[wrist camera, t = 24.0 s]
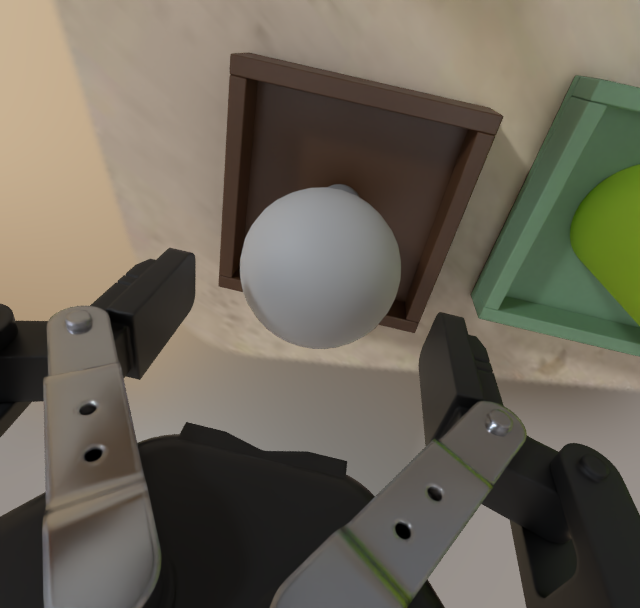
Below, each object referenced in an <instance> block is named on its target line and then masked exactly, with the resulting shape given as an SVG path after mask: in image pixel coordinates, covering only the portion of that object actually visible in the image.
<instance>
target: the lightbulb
mask: <svg viewBox="0 0 640 608" xmlns="http://www.w3.org/2000/svg"><path fill="white" fill-rule="evenodd" d="M240 278H241V284H242V289H243V293H244V296H245V298H246V300H247V303H248V305H249V306H250V308H251V309H252V311H253V312H254V314H255V315H256V317H257V318H258V320H259V321H260V322H261V323H262V324H263V325H264V326H265V327H266V328H267V329H268V330H269V331H271V332H272V333H273V334H275V335H276V336H277V337H279V338H281V339H283V340H285V341H287V342H289V343H292V344H295V345H298V346H301V347H307V348H312V349H328V348H336V347H340V346H343V345H346V344H349V343H352V342H354V341H356V340H358V339H360V338H362V337H364V336H365V335H367V334H368V333H369V332H370V331H372V330H373V329H374V328H375V327H376V326H377V325H378V324H379V323H380V322H381V320H382V319H383V318H384V317H385V315H386V314H387V313H388V311H389V309H390V308H391V306H392V304H393V302H394V300H395V297H396V294H397V291H398V287H399V284H400V279H401V259H400V253H399V248H398V244H397V241H396V239H395V237H394V234H393V232H392V230H391V229H390V227H389V226H388V224H387V223H386V222H385V220H384V219H383V217H382V216H381V215H380V213H379V212H377V211H376V210H375V209H374V208H373V207H372V206H371V205H370V204H369V203H367V202H366V201H364V200H363V199H361V198H360V196H359V195H358V193H357V192H356V191H355V190H354V189H352V188H351V187H349V186H346V185H342V184H335V185H331V186H329V187H321V188H308V189H304V190H299V191H296V192H293V193H290V194H288V195H286V196H284V197H282V198H280V199H277V200H276V201H275V202H273V203H272V204H271V205H269V206H268V207H267V208H266V209H265V210H264V211H263V212H262V213H261V214H260V216H259V217H258V218H257V219H256V220H255V222H254V223H253V224H252V226H251V228H250V230H249V232H248V234H247V236H246V238H245V241H244V245H243V249H242V254H241V258H240Z"/></svg>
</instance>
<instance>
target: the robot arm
mask: <svg viewBox="0 0 640 608" xmlns="http://www.w3.org/2000/svg"><path fill="white" fill-rule="evenodd" d="M194 299H195V255H194V254H193V253H190V252H186V251H182V250H177V249H173V248H169V249H167V250H166V251H165V252H164V253H163V254H162V255H161V256H160V257H159V258H158V259H157V260H153V259H149V260H146V261H144V262H141V263H139V264H137V265H135V266H134V267H133V268H132V269H131V270H129V271H128V272H127V273H126V276H125V275H124V276H123V277H122V278H120V279H119V280H118V283H115V284H114V285H113V286H112V287H111V288H109V289H108V290H107V291H106V292H105V293H104V294H103V295H102V296H100V297H99V298H98V299H97V300H96V301H95V302H94V303H93V304H91V305H90V306H76V307H70V308H67V309H64V310H62V311H60V312H58V313H56V314H54V315H53V316H52V317H51V318H50V319H49V321H15V318H14V315H13V312H12V310H11V309H10V308H9V307H8V306H6V305H3V304H0V437H1V436H2V435H3V434H4V433H5V431H6V430H7V429H8V428H9V427H10V426H11V425H12V424H13V423H14V421H15V420H16V419H17V418H18V417H19V416H20V415H21V413H22V412H23V411H24V410H25V409H26V408H27V407H28V405H29V404H30V403H31V402H32V401H33V402H34V401H44V436H45V437H44V440H45V487H46V492H45V493H43V494H41V495H39V496H37V497H36V498H34V499H32V500H30V501H28V502H26V503H25V504H23V505H21V506H19V507H17V508H15V509H13V510H12V511H10V512H8V513H6V514H4V515H2V516H1V517H0V608H445V607H444V606H443V604H442V603H441V601H440V599H439V597H438V596H437V594H436V592H435V591H434V589H433V588H432V586H431V584H430V583H429V581H428V577H429V576H430V575H431V573H432V572H433V571H434V569H435V568H436V566H437V565H438V563H439V562H440V561H441V559H442V558H443V556H444V555H445V554H446V552H447V551H448V550H449V548H450V546H451V545H452V544H453V543H454V541H455V540H456V538H457V537H458V535H459V534H460V533H461V531H462V530H463V529H464V527H465V526H466V524H467V523H468V521H469V520H470V519H471V517H472V516H473V515H474V513H475V512H476V510H477V509H478V507H479V506H480V505H481V504H483V505H484V506H486V507H488V508H490V509H492V510H493V511H495V512H497V513H499V514H501V515H502V516H504V517H506V518H508V519H510V524H511V529H512V534H513V539H514V545H515V550H516V555H517V560H518V566H519V571H520V576H521V581H522V587H523V592H524V597H525V602H526V607H527V608H640V515H639V513H638V511H637V508H636V506H635V504H634V502H633V500H632V498H631V496H630V494H629V491H628V489H627V487H626V485H625V483H624V481H623V479H622V477H621V475H620V473H619V472H618V470H617V469H616V468H615V466H614V465H613V464H612V463H611V462H610V461H609V460H608V459H607V458H606V457H604V456H603V455H602V454H600V453H599V452H597V451H596V450H594V449H592V448H590V447H588V446H585V445H582V444H577V443H570V444H567V445H565V446H564V447H563V448H562V449H561V450H560V451H559V452H558V451H556V450H554V449H552V448H550V447H548V446H546V445H544V444H542V443H540V442H538V441H536V440H534V439H532V438H530V437H529V436H527V435H526V429H525V427H524V425H523V423H522V422H521V420H520V419H519V418H518V417H517V416H516V415H515V414H514V413H513V412H512V411H511V410H509V409H508V408H506V407H504V406H503V403H502V399H501V396H500V393H499V390H498V386H497V383H496V380H495V376H494V373H492V371H493V370H492V367H491V364H490V363H489V361H490V360H489V357H488V354H487V351H486V348H485V347H484V346H483V344H482V343H481V342H480V341H479V340H478V338H477V337H476V336H471V335H468V332H467V328H466V324H465V320H464V318H463V317H458V316H454V315H450V314H446V313H441V312H440V313H438V314H437V316H436V318H435V320H434V322H433V325H432V327H431V329H430V331H429V334H428V336H427V338H426V340H425V343H424V345H423V347H422V350H421V353H420V358H419V376H420V388H421V398H422V410H423V421H424V433H425V444H426V447H425V448H424V449H423V450H422V451H421V452H420V453H419V454H418V455H417V456H416V457H415V458H414V459H413V460H412V461H411V462H410V463H409V464H408V465H407V466H406V467H405V468H404V469H403V470H402V471H401V472H400V473H399V474H398V475H397V476H396V477H395V478H394V479H393V480H392V481H391V482H389V484H388V485H386V486H385V488H383V489H382V490H381V491H380V493H379V494H377V495H376V496H374V495H373V494H372V493H371V492H370V491H369V490H368V489H367V488H365V487H364V486H363V485H362V484H361V483H359V482H358V481H356V480H355V479H353V478H352V477H350V476H348V475H346V468H347V461H344V460H340V459H336V458H332V457H328V456H323V455H319V454H315V453H311V452H296V451H295V452H294V451H292V452H291V451H287V452H286V451H263V450H260V449H258V448H256V447H254V446H252V445H250V444H249V443H246V442H244V441H243V440H241V439H238V438H237V437H235V436H233V435H231V434H229V433H227V432H225V431H221V430H216V429H213V428H208V427H204V426H200V425H196V424H192V423H188V422H186V424H185V426H184V427H183V429H182V431H181V433H180V434H174V435H164V436H159V437H154V438H150V439H147V440H144V441H141V442H139V443H137V440H136V436H135V431H134V426H133V422H132V417H131V412H130V408H129V403H128V398H127V393H126V388H125V384H124V377H125V376H127V377H131V378H135V379H139V380H140V379H141V378H142V376H143V375H144V373H145V372H146V371H147V369H148V368H149V367H150V365H151V364H152V363H153V361H154V360H155V358H156V357H157V356H158V354H159V353H160V352H161V350H162V349H163V347H164V346H165V345H166V343H167V342H168V341H169V339H170V338H171V337H172V335H173V334H174V332H175V331H176V329H177V328H178V327H179V326H180V324H181V323H182V321H183V320H184V319H185V317H186V316H187V315H188V313H189V312H190V310H191V308H192V306H193V303H194Z"/></svg>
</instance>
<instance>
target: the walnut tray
mask: <svg viewBox="0 0 640 608" xmlns="http://www.w3.org/2000/svg"><path fill="white" fill-rule="evenodd" d="M230 74H231V75H230V80H229V99H228V117H227V136H226V155H225V174H224V193H223V212H222V231H221V250H220V269H219V274H220V275H219V286H220V287H224V288H228V289H232V290H236V291H241V292H243V289H242V284H241V278H240V258H241V254H242V249H243V245H244V241H245V238H246V236H247V234H248V232H249V230H250V228H251V226H252V224H253V223H254V222H255V220H256V219H257V218H258V217H259V216H260V214H261V213H262V212H263V211H264V210H265V209H266V208H267V207H268V206H269V205H271V204H272V203H273V202H275V201H276V200H277V199H280V198H282V197H284V196H286V195H288V194H290V193H293V192H296V191H299V190H304V189H308V188H321V187H329V186H331V185H335V184H342V185H346V186H349V187H351V188H352V189H354V190H355V191H356V192H357V193H358V195H359V196H360V198H361V199H363V200H364V201H366V202H367V203H369V204H370V205H371V206H372V207H373V208H374V209H375V210H376V211H377V212H379V213H380V215H381V216H382V217H383V219H384V220H385V222H386V223H387V224H388V226H389V227H390V229H391V230H392V232H393V234H394V237H395V239H396V241H397V244H398V248H399V253H400V259H401V279H400V284H399V287H398V291H397V294H396V297H395V300H394V302H393V304H392V306H391V308H390V309H389V311H388V313H387V314H386V315H385V317H384V318H383V319H382V320H381V322H380V323H379V325H383V326H387V327H391V328H395V329H400V330H404V331H408V332H412V333H415V331H416V329H417V326H418V324H419V321H420V319H421V317H422V314H423V312H424V309H425V307H426V304H427V302H428V299H429V297H430V295H431V292H432V290H433V287H434V285H435V282H436V280H437V277H438V275H439V273H440V270H441V268H442V265H443V263H444V260H445V258H446V255H447V253H448V251H449V248H450V246H451V243H452V241H453V238H454V236H455V233H456V231H457V229H458V226H459V224H460V221H461V219H462V216H463V214H464V212H465V209H466V207H467V204H468V202H469V199H470V197H471V194H472V192H473V190H474V187H475V185H476V182H477V180H478V177H479V175H480V172H481V170H482V168H483V165H484V163H485V160H486V158H487V155H488V153H489V150H490V148H491V146H492V143H493V141H494V138H495V135H496V133H497V131H498V129H499V126H500V124H501V121H502V119H503V116H502V115H501V114H499V113H497V112H496V111H494V110H492V109H491V108H488V107H483V106H479V105H475V104H470V103H466V102H462V101H457V100H453V99H448V98H444V97H440V96H435V95H431V94H427V93H422V92H418V91H414V90H409V89H405V88H400V87H396V86H392V85H387V84H383V83H379V82H374V81H370V80H366V79H361V78H357V77H352V76H348V75H344V74H339V73H335V72H331V71H326V70H322V69H317V68H313V67H309V66H304V65H300V64H296V63H291V62H287V61H283V60H278V59H274V58H269V57H265V56H261V55H256V54H252V53H234V54H231V57H230Z"/></svg>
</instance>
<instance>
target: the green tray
mask: <svg viewBox="0 0 640 608" xmlns="http://www.w3.org/2000/svg"><path fill="white" fill-rule="evenodd" d="M639 164H640V88H638V87H633V86H629V85H625V84H620V83H616V82H611V81H607V80H603V79H597V78H590V77H584V76H578V75H577V76H575V78H574V80H573V82H572V84H571V86H570V88H569V90H568V92H567V94H566V96H565V99H564V101H563V103H562V105H561V107H560V109H559V111H558V113H557V115H556V117H555V120H554V122H553V124H552V126H551V128H550V130H549V132H548V134H547V136H546V138H545V140H544V143H543V145H542V147H541V149H540V151H539V153H538V155H537V157H536V159H535V161H534V163H533V166H532V168H531V170H530V172H529V174H528V176H527V178H526V180H525V182H524V184H523V187H522V189H521V191H520V193H519V195H518V197H517V199H516V201H515V203H514V205H513V207H512V210H511V212H510V214H509V216H508V218H507V220H506V222H505V224H504V226H503V228H502V231H501V233H500V235H499V237H498V239H497V241H496V243H495V245H494V247H493V249H492V251H491V254H490V256H489V258H488V260H487V262H486V264H485V266H484V268H483V270H482V272H481V275H480V277H479V279H478V281H477V283H476V285H475V287H474V289H473V291H472V293H471V297H472V299H473V303H474V306H475V309H476V312H477V315H478V318H480V319H484V320H488V321H492V322H496V323H501V324H505V325H509V326H513V327H517V328H522V329H526V330H530V331H534V332H538V333H543V334H547V335H551V336H555V337H559V338H564V339H568V340H572V341H576V342H580V343H585V344H589V345H593V346H597V347H601V348H606V349H610V350H614V351H618V352H623V353H627V354H631V355H635V356H639V357H640V326H639V325H638V324H637V323H636V322H635V321H634V319H633V318H632V317H631V316H630V315H629V314H628V313H627V312H626V311H625V309H624V308H623V307H622V306H621V305H620V304H619V303H618V302H617V301H616V299H615V298H614V297H613V296H612V295H611V294H610V293H609V292H608V291H607V289H606V288H605V287H604V286H603V285H602V284H601V283H600V282H599V281H598V279H597V278H596V277H595V276H594V275H593V274H592V273H591V272H590V271H589V269H588V268H587V267H586V266H585V265H584V264H583V263H582V262H581V260H580V259H579V258H578V257H577V256H576V254H575V253H574V251H573V248H572V246H571V241H570V228H571V223H572V220H573V217H574V215H575V212H576V210H577V209H578V207H579V205H580V204H581V202H582V201H583V200H584V198H585V197H586V196H587V195H588V194H589V193H590V192H591V191H592V190H593V189H594V188H595V187H596V186H597V185H598V184H600V183H601V182H602V181H604V180H605V179H607V178H608V177H610V176H611V175H613V174H615V173H617V172H619V171H621V170H623V169H626V168H629V167H632V166H635V165H639Z"/></svg>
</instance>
